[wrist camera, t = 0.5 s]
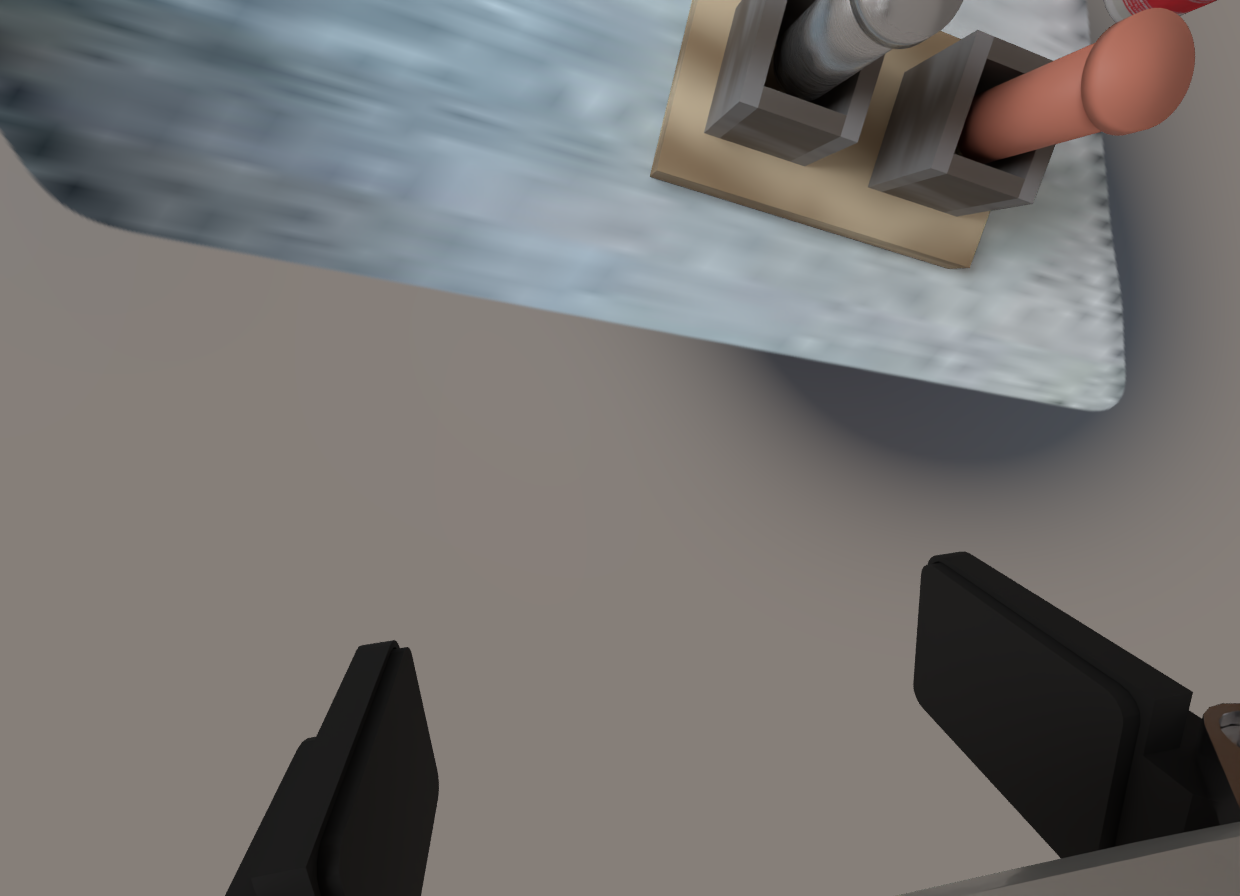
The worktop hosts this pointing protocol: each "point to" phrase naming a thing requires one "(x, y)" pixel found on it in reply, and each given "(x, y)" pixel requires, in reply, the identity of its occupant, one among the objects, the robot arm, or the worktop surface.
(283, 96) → the worktop surface
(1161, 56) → the red plug
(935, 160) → the board
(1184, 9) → the pill bottle
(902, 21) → the grey plug
